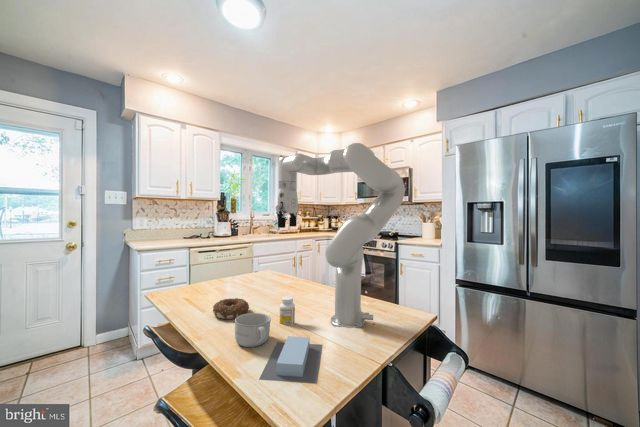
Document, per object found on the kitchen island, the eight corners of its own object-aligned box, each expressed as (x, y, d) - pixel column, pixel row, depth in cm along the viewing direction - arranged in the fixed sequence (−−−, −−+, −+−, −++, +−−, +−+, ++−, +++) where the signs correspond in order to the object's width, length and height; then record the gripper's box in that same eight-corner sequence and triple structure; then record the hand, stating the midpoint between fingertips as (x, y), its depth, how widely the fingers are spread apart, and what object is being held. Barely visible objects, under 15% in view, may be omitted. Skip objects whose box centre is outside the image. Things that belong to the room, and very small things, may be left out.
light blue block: (309, 347, 79) (309, 337, 79) (302, 376, 65) (302, 364, 65) (287, 346, 79) (287, 336, 79) (276, 375, 65) (276, 363, 65)
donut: (204, 317, 102) (204, 304, 102) (230, 305, 115) (230, 294, 114) (233, 324, 96) (233, 310, 96) (257, 311, 109) (257, 299, 108)
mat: (322, 347, 80) (322, 344, 80) (316, 387, 62) (316, 383, 62) (277, 345, 81) (277, 342, 81) (258, 383, 63) (258, 379, 63)
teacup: (232, 339, 85) (232, 314, 85) (266, 332, 90) (266, 309, 89) (238, 361, 72) (239, 332, 72) (277, 353, 77) (277, 326, 77)
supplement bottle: (287, 320, 100) (287, 294, 100) (297, 324, 97) (297, 297, 97) (276, 324, 96) (276, 298, 96) (286, 329, 93) (287, 301, 92)
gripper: (285, 184, 102) (285, 228, 102) (304, 187, 118) (304, 226, 118) (268, 184, 105) (268, 227, 105) (289, 188, 121) (289, 225, 121)
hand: (287, 227), depth 112 cm, fingers open, 9 cm apart
